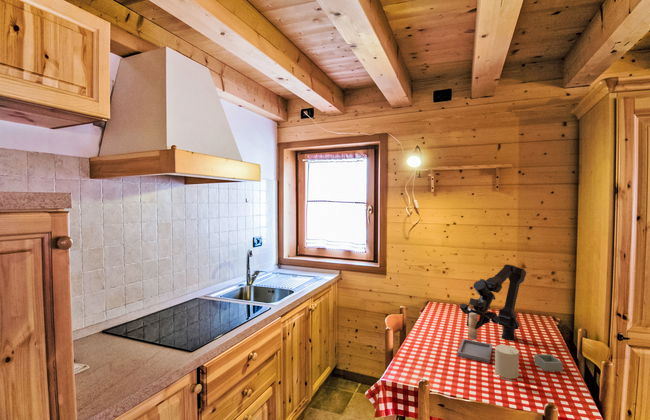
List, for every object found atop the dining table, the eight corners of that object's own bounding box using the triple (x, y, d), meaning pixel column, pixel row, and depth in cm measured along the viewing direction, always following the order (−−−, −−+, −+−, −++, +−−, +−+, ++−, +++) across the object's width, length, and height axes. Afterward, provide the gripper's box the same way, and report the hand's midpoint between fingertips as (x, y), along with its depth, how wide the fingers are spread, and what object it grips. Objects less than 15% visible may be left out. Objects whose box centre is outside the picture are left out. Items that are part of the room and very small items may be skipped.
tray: (462, 342, 176) (462, 338, 176) (492, 348, 169) (492, 344, 169) (457, 356, 161) (457, 352, 161) (489, 363, 154) (489, 359, 154)
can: (506, 382, 138) (506, 354, 137) (489, 371, 146) (490, 345, 146) (524, 379, 140) (524, 351, 140) (506, 368, 149) (507, 342, 149)
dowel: (474, 336, 166) (474, 312, 165) (479, 339, 162) (479, 315, 161) (466, 336, 165) (467, 312, 165) (471, 339, 161) (471, 315, 161)
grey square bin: (534, 365, 152) (534, 354, 152) (551, 365, 152) (551, 354, 152) (544, 373, 145) (544, 362, 144) (562, 374, 144) (562, 362, 144)
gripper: (461, 287, 173) (447, 312, 167) (496, 296, 157) (482, 324, 151) (470, 300, 177) (457, 324, 172) (505, 310, 162) (492, 337, 156)
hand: (471, 327), depth 163 cm, fingers closed on dowel, 4 cm apart
